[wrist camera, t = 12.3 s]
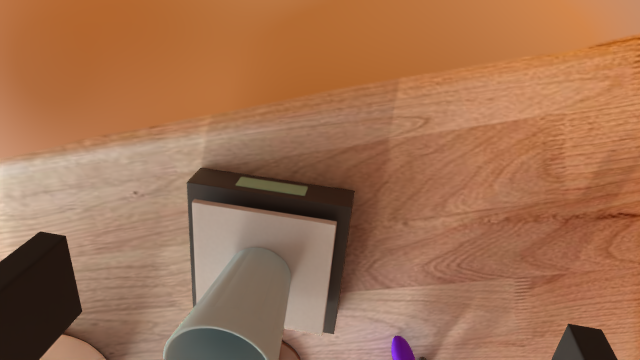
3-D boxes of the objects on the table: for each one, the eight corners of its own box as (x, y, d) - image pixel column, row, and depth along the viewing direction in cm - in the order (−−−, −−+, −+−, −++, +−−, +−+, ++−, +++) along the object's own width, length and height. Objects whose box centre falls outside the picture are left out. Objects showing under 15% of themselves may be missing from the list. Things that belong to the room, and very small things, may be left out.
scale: (200, 166, 40) (179, 188, 36) (354, 189, 39) (350, 215, 35) (204, 289, 46) (186, 319, 42) (337, 312, 45) (332, 345, 41)
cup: (323, 279, 38) (298, 381, 29) (264, 320, 41) (225, 425, 32) (258, 219, 36) (210, 307, 27) (202, 267, 39) (141, 360, 30)
